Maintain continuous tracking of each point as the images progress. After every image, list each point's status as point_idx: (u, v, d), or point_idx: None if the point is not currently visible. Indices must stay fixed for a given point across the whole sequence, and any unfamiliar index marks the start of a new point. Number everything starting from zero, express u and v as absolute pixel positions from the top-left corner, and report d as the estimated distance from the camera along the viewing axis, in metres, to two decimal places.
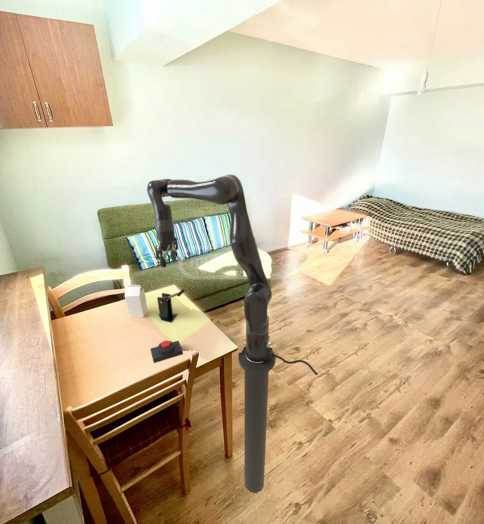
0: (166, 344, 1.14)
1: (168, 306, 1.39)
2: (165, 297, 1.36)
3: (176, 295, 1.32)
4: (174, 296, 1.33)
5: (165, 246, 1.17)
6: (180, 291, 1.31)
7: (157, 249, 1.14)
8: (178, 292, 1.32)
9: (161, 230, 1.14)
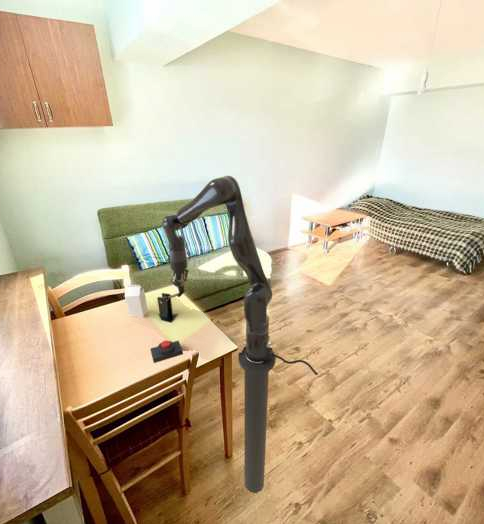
0: (166, 344, 1.14)
1: (168, 306, 1.39)
2: (165, 297, 1.36)
3: (176, 295, 1.33)
4: (174, 296, 1.33)
5: (178, 275, 1.25)
6: None
7: (173, 282, 1.24)
8: (178, 293, 1.32)
9: (175, 261, 1.21)
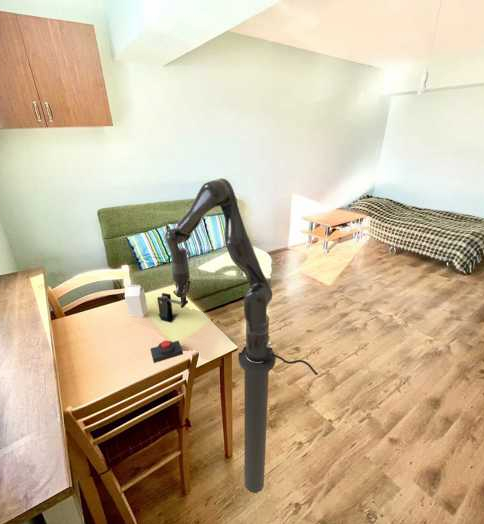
0: (166, 344, 1.14)
1: (168, 306, 1.39)
2: (166, 298, 1.36)
3: None
4: (176, 303, 1.34)
5: (181, 286, 1.27)
6: None
7: (176, 294, 1.26)
8: None
9: (177, 273, 1.23)
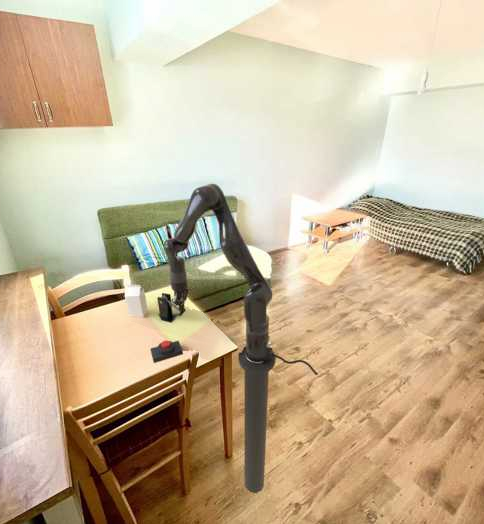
0: (166, 344, 1.14)
1: (168, 306, 1.39)
2: (166, 300, 1.36)
3: None
4: (174, 308, 1.36)
5: (179, 295, 1.29)
6: (183, 311, 1.36)
7: (174, 302, 1.28)
8: None
9: (175, 282, 1.26)
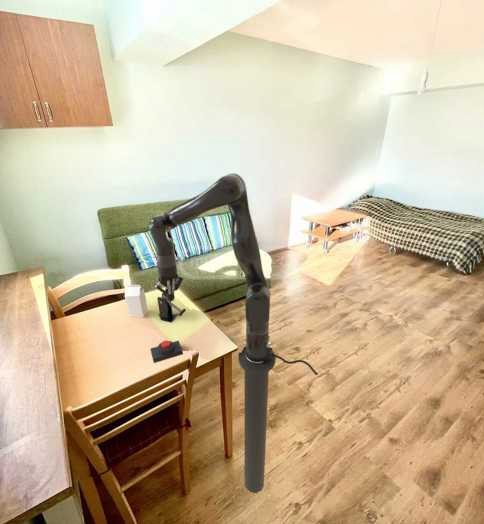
0: (166, 344, 1.14)
1: (168, 306, 1.39)
2: (166, 300, 1.36)
3: None
4: (174, 308, 1.36)
5: (163, 282, 1.13)
6: (183, 311, 1.36)
7: None
8: (180, 309, 1.36)
9: (159, 265, 1.10)
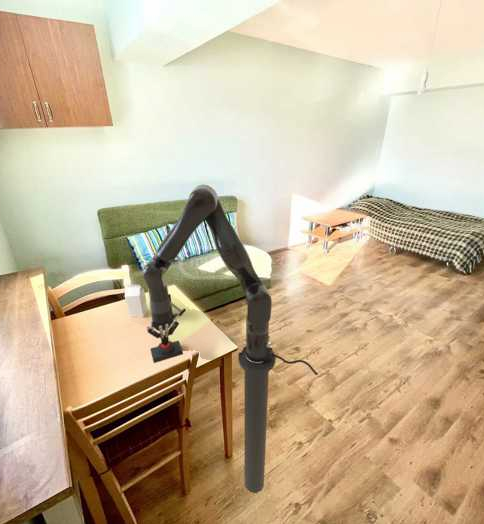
0: None
1: None
2: None
3: None
4: (174, 308, 1.36)
5: (155, 326, 1.09)
6: (183, 311, 1.36)
7: None
8: (180, 309, 1.36)
9: (151, 310, 1.06)
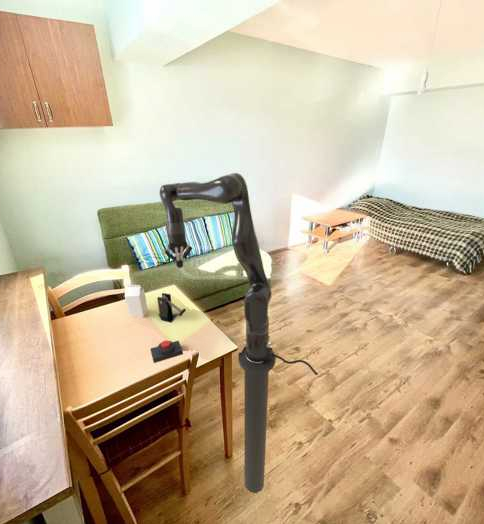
0: (166, 344, 1.14)
1: (168, 306, 1.39)
2: (166, 300, 1.36)
3: None
4: (174, 308, 1.36)
5: (172, 248, 1.21)
6: (183, 311, 1.36)
7: None
8: (180, 309, 1.36)
9: (168, 232, 1.19)
